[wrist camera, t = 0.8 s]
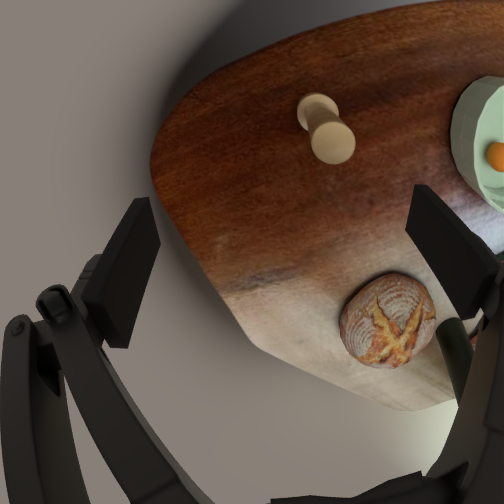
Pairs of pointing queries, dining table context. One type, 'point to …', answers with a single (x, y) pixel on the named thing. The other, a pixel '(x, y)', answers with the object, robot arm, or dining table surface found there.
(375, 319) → the bread
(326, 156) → the muddler
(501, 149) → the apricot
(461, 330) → the wine bottle
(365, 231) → the dining table surface
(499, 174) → the bowl
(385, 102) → the dining table surface
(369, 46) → the dining table surface
